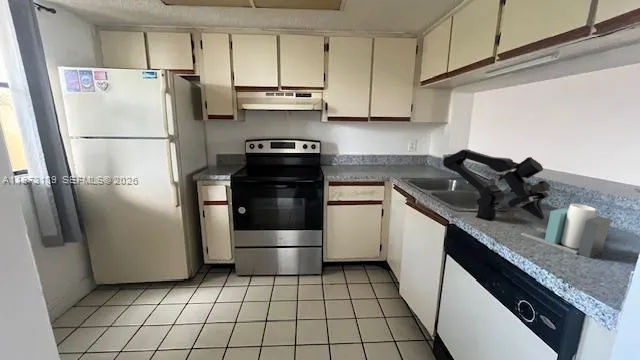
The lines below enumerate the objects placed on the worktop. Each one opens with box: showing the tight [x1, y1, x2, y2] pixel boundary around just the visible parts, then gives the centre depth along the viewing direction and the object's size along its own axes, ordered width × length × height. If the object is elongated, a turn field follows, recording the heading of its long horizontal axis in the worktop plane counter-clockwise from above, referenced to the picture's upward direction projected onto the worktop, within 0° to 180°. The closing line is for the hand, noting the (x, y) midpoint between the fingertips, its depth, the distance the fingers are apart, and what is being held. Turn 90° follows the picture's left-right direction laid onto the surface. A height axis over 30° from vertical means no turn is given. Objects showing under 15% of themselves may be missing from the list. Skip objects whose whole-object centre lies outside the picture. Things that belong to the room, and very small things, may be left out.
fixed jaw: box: [521, 216, 612, 259], centre depth 98 cm, size 20×12×12 cm, turn 27°
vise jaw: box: [544, 207, 569, 245], centre depth 99 cm, size 3×10×12 cm, turn 117°
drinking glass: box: [560, 203, 597, 250], centre depth 95 cm, size 7×7×15 cm
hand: (542, 218), depth 104 cm, fingers closed
